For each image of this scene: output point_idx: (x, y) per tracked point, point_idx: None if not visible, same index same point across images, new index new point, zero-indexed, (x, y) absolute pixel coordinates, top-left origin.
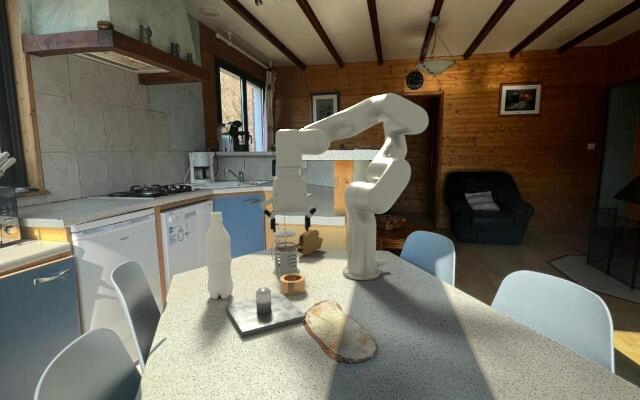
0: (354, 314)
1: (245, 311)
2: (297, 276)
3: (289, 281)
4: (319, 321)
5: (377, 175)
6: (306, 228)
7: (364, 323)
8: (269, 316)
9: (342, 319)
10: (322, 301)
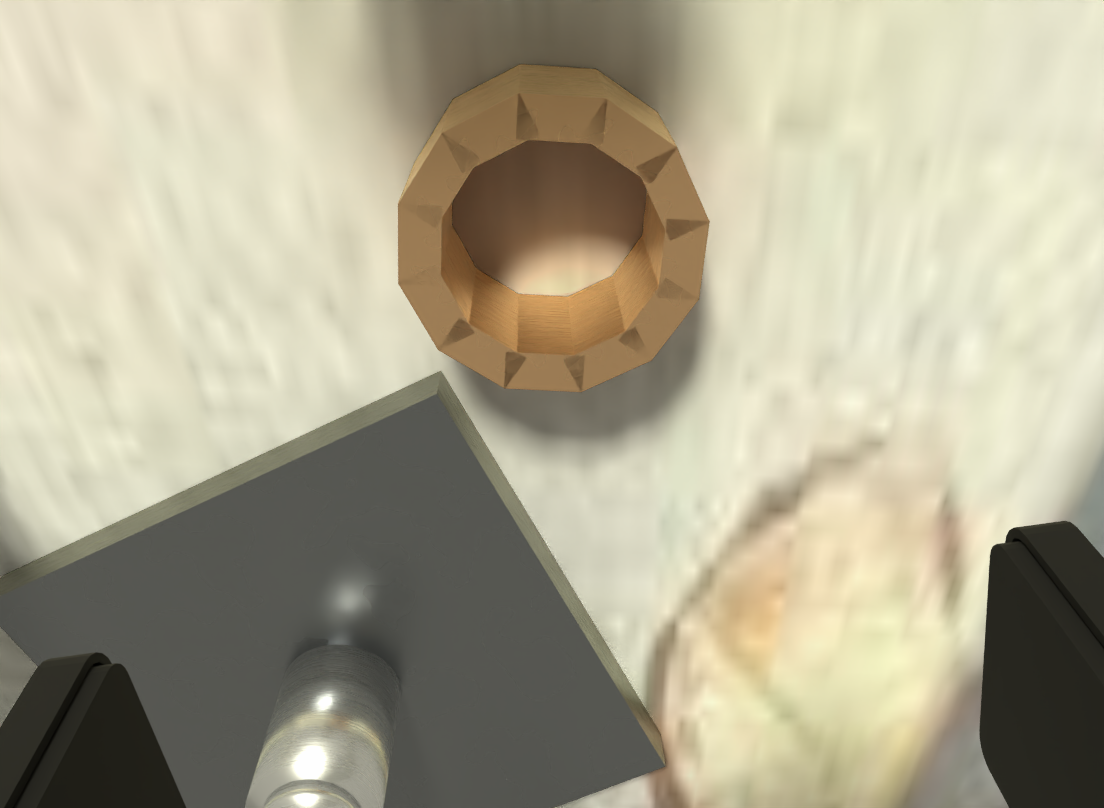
0: None
1: (199, 704)
2: (614, 156)
3: (520, 364)
4: (756, 740)
5: None
6: (1013, 795)
7: None
8: (404, 771)
9: (920, 724)
10: (829, 464)
